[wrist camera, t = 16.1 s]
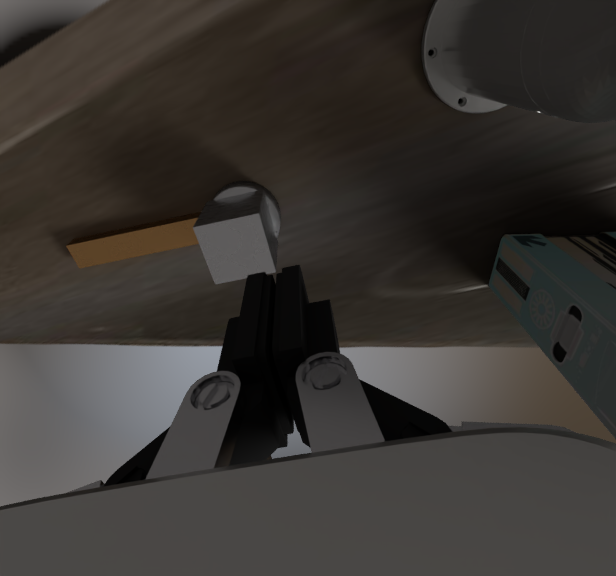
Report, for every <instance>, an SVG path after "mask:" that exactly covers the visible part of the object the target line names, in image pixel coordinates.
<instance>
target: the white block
mask: <svg viewBox="0 0 616 576" xmlns="http://www.w3.org/2000/svg"><path fill="white" fill-rule="evenodd" d="M193 229H194V232H195V235H196V237H197V240H198V242H199V245H200V247H201V250H202V252H203V255H204V257H205V260H206V262H207V265H208V267H209V270H210V272H211V275H212V277H213V280H214V282H215V284H220V283H225V282H229V281H234V280H239V279H244V278H247V276H248V275H250V274H255V273H260V272H266V274H269V273H274V272H276V265H277V250H278V240H277V236H276V232H275V229H274V225H273V221H272V218H271V214H270V211H269V207H268V203H267V200H266V196H265V192H264V189H262V190H257V191H253V192H248V193H244V194H239V195H235V196H230V197H226V198H221V199H216V200H212V201H207V202H206V204H205V206H204V208H203V210H202V212H201V213H200V215H199V217H198V219H197V221H196V222H195V224H194V226H193Z"/></svg>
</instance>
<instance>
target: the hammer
mask: <svg viewBox="0 0 616 576" xmlns="http://www.w3.org/2000/svg"><path fill="white" fill-rule="evenodd" d="M262 189H264V192H265V196H266V200H267V203H268V207H269V211H270V214H271V218H272V221H273V225H274V229H275V232H276V236H277V237H278V234H279V230H280V219H281V214H280V208H279V205H278V202H277V200H276V199H275V197H274V196H273V195H272V193H271V192H270V191H269V190H267V189H266V188H265V187H263V186H261V185H259V184H257V183H254V182H250V181H237V182H233V183H230V184H228V185H226V186H224V187H223V188H222V189H220V190H219V191H218V193H217V194H216V195H215V197H214V199H213V200H216V199H221V198H226V197H230V196H235V195H239V194H244V193H248V192H253V191H257V190H262ZM200 213H201V212H198V213H194V214H189V215H184V216H180V217H175V218H170V219H166V220H161V221H156V222H152V223H147V224H142V225H138V226H133V227H128V228H124V229H119V230H114V231H110V232H105V233H100V234H96V235H91V236H86V237H82V238H77V239H73V240H72V241H71V242H70V243H69V244H68V245H66V247H67V248H68V250H69V252H70V253H71V255H72V257H73V258H74V260H75V262H76V263H77V265H78V267H79V268H84V267H89V266H94V265H98V264H103V263H108V262H113V261H118V260H122V259H127V258H132V257H137V256H142V255H147V254H151V253H156V252H161V251H166V250H171V249H175V248H180V247H185V246H190V245H195V244H199V242H198V240H197V237H196V235H195V232H194V229H193V226H194V224H195V222H196V221H197V219H198V217H199V215H200Z"/></svg>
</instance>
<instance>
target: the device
mask: <svg viewBox="0 0 616 576" xmlns="http://www.w3.org/2000/svg"><path fill="white" fill-rule="evenodd" d="M488 286H489V287H490V288H491V290H492V291H493V292H494V293H495V294H496V296H497V297H498V298H499V299H500V300H501V302H502V303H503V304H504V305H505V306H506V308H507V309H508V310H509V311H510V313H511V314H512V315H513V316H514V317H515V319H516V320H517V321H518V322H519V323H520V325H521V326H522V327H523V328H524V329H525V331H526V332H527V333H528V334H529V335H530V337H531V338H532V339H533V340H534V341H535V343H536V344H537V345H538V346H539V347H540V348H541V350H542V351H543V352H544V353H545V355H546V356H547V357H548V358H549V359H550V361H551V362H552V363H553V364H554V365H555V366H556V368H557V369H558V370H559V371H560V373H561V374H562V375H563V376H564V377H565V379H566V380H567V381H568V382H569V383H570V385H571V386H572V387H573V388H574V389H575V391H576V392H577V393H578V394H579V395H580V397H581V398H582V399H583V400H584V402H585V403H586V404H587V405H588V406H589V408H590V409H591V410H592V411H593V412H594V414H595V415H596V416H597V417H598V418H599V419H600V421H601V422H602V423H603V424H604V426H605V427H606V428H607V429H608V430H609V432H610V433H611V434H612V435H613V436H614V437H615V439H616V232H601V233H599V234H598V235H572V236H543V235H542V234H511V235H504V236H503V237H502V238H501V241H500V245H499V248H498V252H497V256H496V259H495V263H494V267H493V270H492V274H491V277H490V281H489V285H488Z"/></svg>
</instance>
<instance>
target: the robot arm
mask: <svg viewBox="0 0 616 576" xmlns="http://www.w3.org/2000/svg"><path fill="white" fill-rule="evenodd" d="M429 50H432V55H431V56H429V55H428V52H429ZM422 64H423V69H424V73H425V76H426V79H427V81H428V84H429V86H430V87H431V89H432V90H433V92H434V94H435V95H436V96H437V97H438V98H439V99H440V100H441V101H442V102H443V103H445V104H447V105H448V106H450V107H452V108H454V109H456V110H459V111H462V112H467V113H487V112H491V111H496V110H498V109H501V108H503V107H505V106H508V105H510V106H514V107H518V108H522V109H526V110H529V111H533V112H537V113H541V114H545V115H549V116H553V117H556V118H562V119H566V120H570V121H575V122H582V123H598V122H606V121H612V120H615V119H616V0H435V2H434V4H433V6H432V8H431V10H430V12H429V14H428V18H427V21H426V24H425V27H424V32H423V38H422ZM460 98H461V102H460V103H459V104H458V100H459V99H460ZM294 421H295V424H296V427H297V430H298V432H299V433H300V435H301V438H302V441H303V443H305V444H306V445H307V446H309V447H310V448H311V451H312V453H307V454H300V455H294V456H288V457H281V458H275V459H272V457H271V454H272V453H273V452H274V451H275V450H276V449H277V448H281V447H287V434H291V433H293V431H294ZM0 576H616V444H615V443H612V442H609V441H606V440H603V439H600V438H596V437H592V436H588V435H584V434H579V433H576V432H573V431H571V430H569V429H567V428H565V427H560V426H553V425H538V424H511V423H485V422H484V423H483V422H462V426H459V427H458V426H448V425H447V424H446V423H445V422H443V421H442V420H440V419H439V418H437V417H435V416H433V415H431V414H429V413H427V412H425V411H423V410H421V409H419V408H417V407H415V406H413V405H410V404H408V403H407V402H405V401H402V400H400V399H398V398H396V397H394V396H392V395H390V394H388V393H386V392H384V391H382V390H380V389H378V388H376V387H374V386H372V385H370V384H368V383H366V382H364V381H362V380H360V379H358V376H357V374H356V371H355V369H354V367H353V365H352V363H351V361H350V360H349V359H348V358H347V357H345V356H344V355H342V354H340V350H339V344H338V338H337V333H336V327H335V322H334V317H333V313H332V308H331V303H330V300H324V301H319V302H313V303H309V300H308V296H307V292H306V288H305V284H304V280H303V276H302V272H301V268H300V265H296V266H291V267H286V268H282V273H278V274H277V277H276V284H275V281H274V278H273V275H268V276H267V274H266V272H260V273H255V274H250V275H248V276H247V281H246V286H245V291H244V296H243V301H242V307H241V312H240V317H235V318H231V319H229V321H228V325H227V330H226V334H225V338H224V343H223V347H222V351H221V356H220V360H219V364H218V369H217V372H213V373H210V374H208V375H205V376H203V377H202V378H201V379H199V380H197V381H196V382H195V383H194V384H193V385H192V386H191V387H190V389H189V390H188V392H187V393H186V395H185V397H184V399H183V402H182V403H181V406H180V408H179V410H178V412H177V414H176V416H175V418H174V420H173V422H172V425H171V426H170V427H169V428H168V429H167V430H166V431H164V432H163V433H162V434H161V435H159V436H158V437H157V438H156V439H154V440H153V441H152V442H151V443H149V444H148V445H147V446H146V447H145V448H143V449H142V450H141V451H140V452H138V453H137V454H136V455H135V456H134V457H132V458H131V459H130V460H129V461H127V462H126V463H125V464H124V465H123V466H121V467H120V468H119V469H118V470H117V471H116V472H115V473H114V474H113V475H112V476H111V477H110V478H109V479H108V480H107V482H106V483H105V484H104V483H103V482H102V481H101V480H100V481H97V482H94V483H92V484H89V485H86V486H84V487H81V488H78V489H76V490H73V491H70V492H68V493H64V494H59V495H54V496H49V497H43V498H37V499H32V500H28V501H23V502H18V503H14V504H9V505H4V506H1V507H0Z"/></svg>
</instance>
